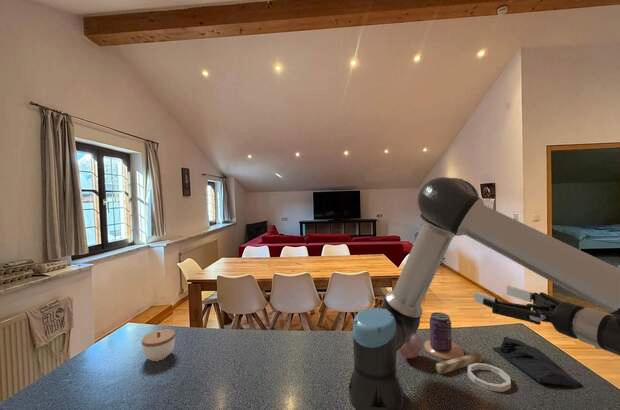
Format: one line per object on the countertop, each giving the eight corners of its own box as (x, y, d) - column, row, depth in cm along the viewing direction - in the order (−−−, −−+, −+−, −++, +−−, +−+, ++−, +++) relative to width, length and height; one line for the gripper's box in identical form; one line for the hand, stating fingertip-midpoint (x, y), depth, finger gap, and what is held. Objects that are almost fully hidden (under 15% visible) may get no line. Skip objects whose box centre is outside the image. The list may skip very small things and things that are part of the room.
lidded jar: (174, 361, 99) (173, 335, 99) (139, 368, 95) (138, 341, 95) (176, 346, 109) (175, 322, 109) (145, 352, 105) (144, 328, 105)
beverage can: (447, 343, 105) (446, 311, 104) (454, 354, 98) (454, 320, 97) (427, 342, 105) (426, 311, 105) (433, 353, 98) (433, 320, 98)
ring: (504, 397, 77) (504, 392, 77) (460, 377, 86) (460, 372, 86) (516, 380, 84) (516, 375, 84) (474, 363, 93) (474, 358, 93)
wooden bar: (439, 374, 88) (439, 366, 88) (436, 371, 89) (435, 363, 89) (481, 361, 94) (481, 354, 94) (477, 359, 95) (477, 351, 95)
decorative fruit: (400, 348, 103) (400, 321, 103) (424, 355, 99) (423, 327, 98) (392, 361, 96) (392, 332, 95) (417, 368, 91) (417, 338, 91)
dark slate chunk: (532, 388, 81) (532, 373, 81) (489, 347, 103) (489, 335, 103) (588, 390, 80) (588, 374, 80) (533, 348, 102) (533, 335, 102)
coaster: (454, 364, 93) (454, 363, 93) (417, 348, 103) (417, 347, 103) (469, 350, 101) (469, 348, 101) (434, 336, 111) (434, 335, 111)
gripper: (546, 351, 59) (460, 312, 79) (612, 329, 68) (520, 299, 88) (546, 316, 59) (460, 286, 79) (612, 299, 68) (520, 275, 87)
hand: (491, 293), depth 83 cm, fingers open, 13 cm apart
